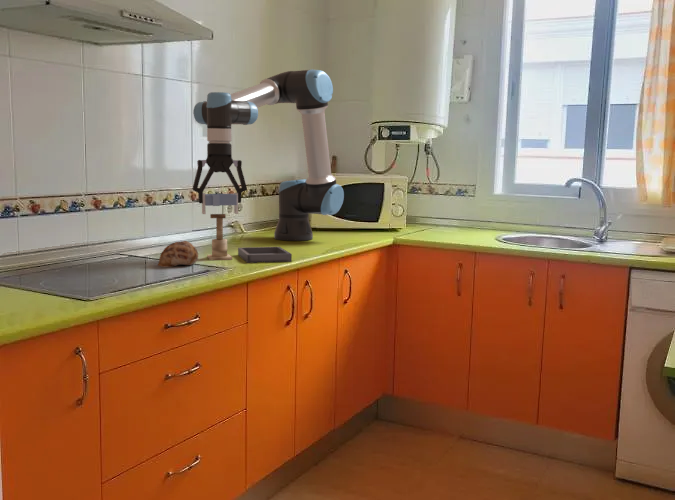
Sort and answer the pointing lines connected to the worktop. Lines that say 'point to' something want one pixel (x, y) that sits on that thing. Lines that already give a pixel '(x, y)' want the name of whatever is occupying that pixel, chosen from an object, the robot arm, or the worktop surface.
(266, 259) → the tray
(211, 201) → the ring
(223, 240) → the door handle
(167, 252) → the seashell
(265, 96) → the robot arm
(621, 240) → the worktop surface
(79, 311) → the worktop surface
